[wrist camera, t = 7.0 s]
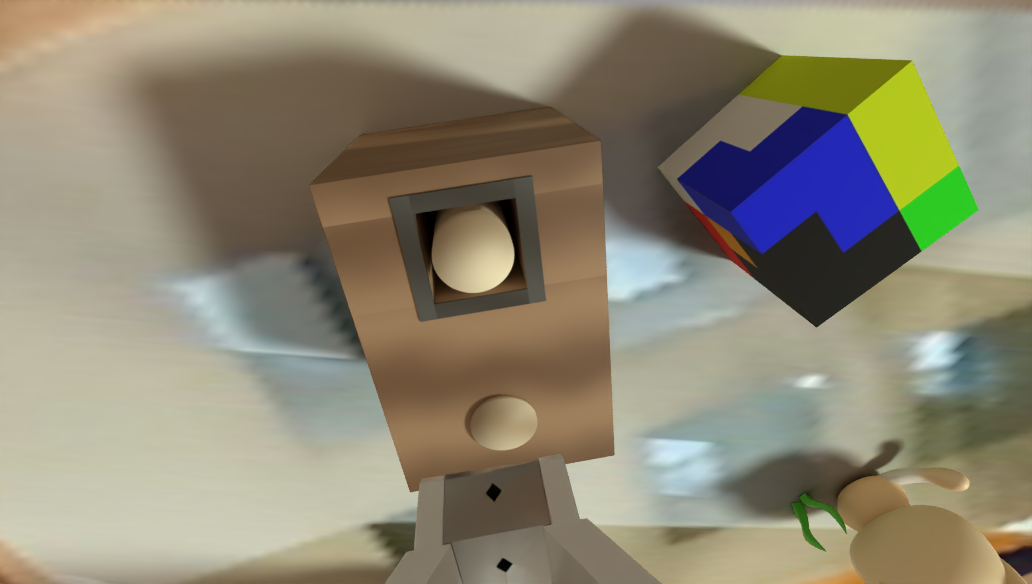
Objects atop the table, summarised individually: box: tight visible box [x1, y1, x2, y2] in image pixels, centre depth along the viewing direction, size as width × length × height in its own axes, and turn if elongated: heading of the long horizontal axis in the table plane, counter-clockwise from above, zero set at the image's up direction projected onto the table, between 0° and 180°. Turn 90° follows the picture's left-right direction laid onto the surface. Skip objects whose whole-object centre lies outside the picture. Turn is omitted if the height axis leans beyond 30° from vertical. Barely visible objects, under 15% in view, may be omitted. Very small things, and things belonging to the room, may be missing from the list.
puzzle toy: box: [657, 55, 979, 327], centre depth 30 cm, size 10×10×10 cm
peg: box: [432, 200, 514, 293], centre depth 26 cm, size 4×4×12 cm
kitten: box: [791, 468, 1028, 584], centre depth 45 cm, size 15×10×15 cm
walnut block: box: [309, 107, 614, 492], centre depth 29 cm, size 18×12×12 cm, turn 7°
